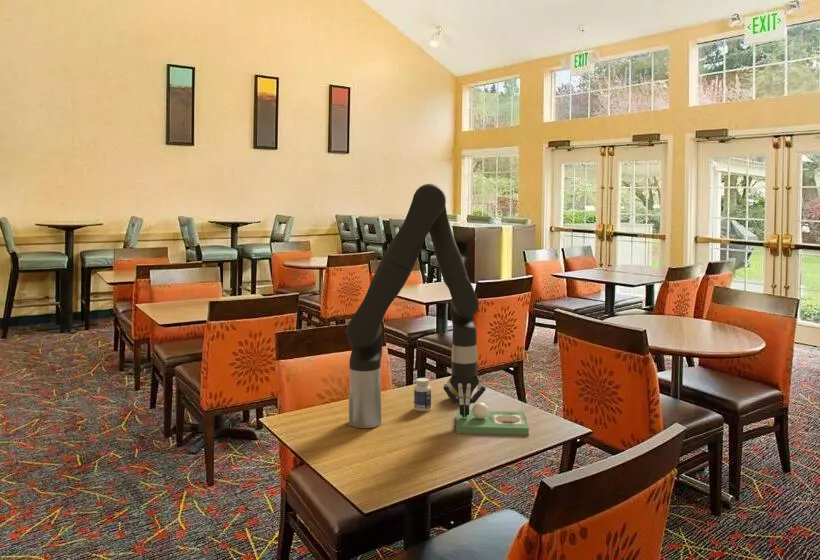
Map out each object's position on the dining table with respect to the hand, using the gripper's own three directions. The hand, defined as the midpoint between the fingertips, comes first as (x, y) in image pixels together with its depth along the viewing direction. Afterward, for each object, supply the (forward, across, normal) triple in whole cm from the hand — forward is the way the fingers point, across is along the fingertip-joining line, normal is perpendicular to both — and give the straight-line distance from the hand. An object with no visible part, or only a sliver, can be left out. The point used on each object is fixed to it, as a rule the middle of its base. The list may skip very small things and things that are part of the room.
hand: (464, 416), depth 187 cm
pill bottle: (+3, -13, +13) cm, 19 cm away
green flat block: (+3, +8, 0) cm, 8 cm away
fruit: (+3, -2, +23) cm, 24 cm away
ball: (-2, +5, 0) cm, 5 cm away
